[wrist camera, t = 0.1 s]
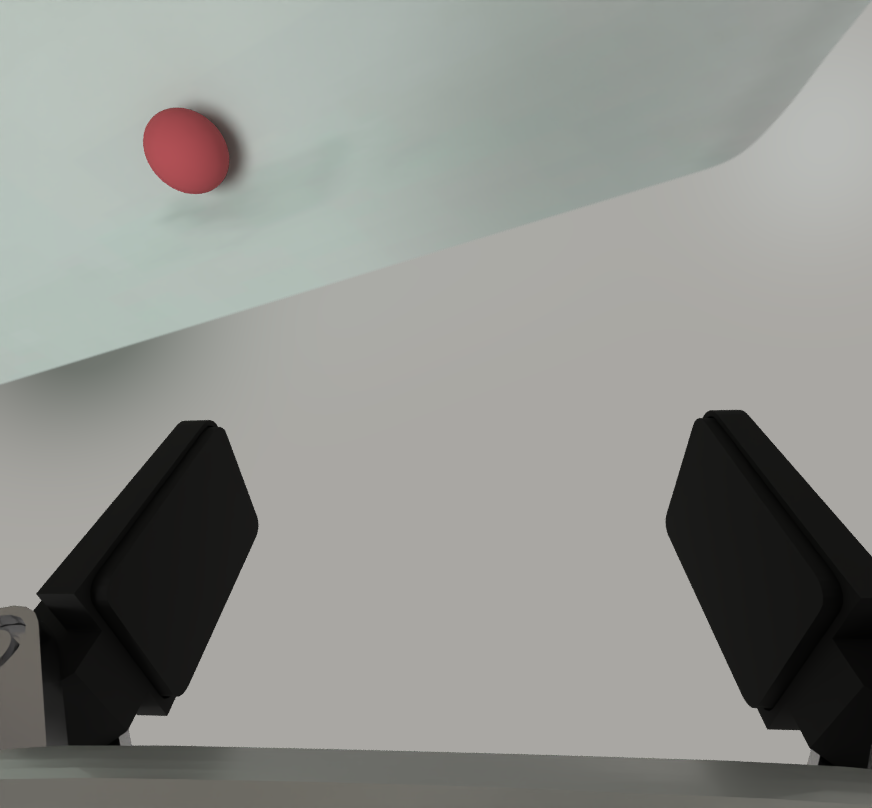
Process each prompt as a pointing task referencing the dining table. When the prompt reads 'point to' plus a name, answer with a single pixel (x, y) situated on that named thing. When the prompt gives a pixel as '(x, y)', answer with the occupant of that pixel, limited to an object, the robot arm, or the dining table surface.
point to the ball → (186, 150)
